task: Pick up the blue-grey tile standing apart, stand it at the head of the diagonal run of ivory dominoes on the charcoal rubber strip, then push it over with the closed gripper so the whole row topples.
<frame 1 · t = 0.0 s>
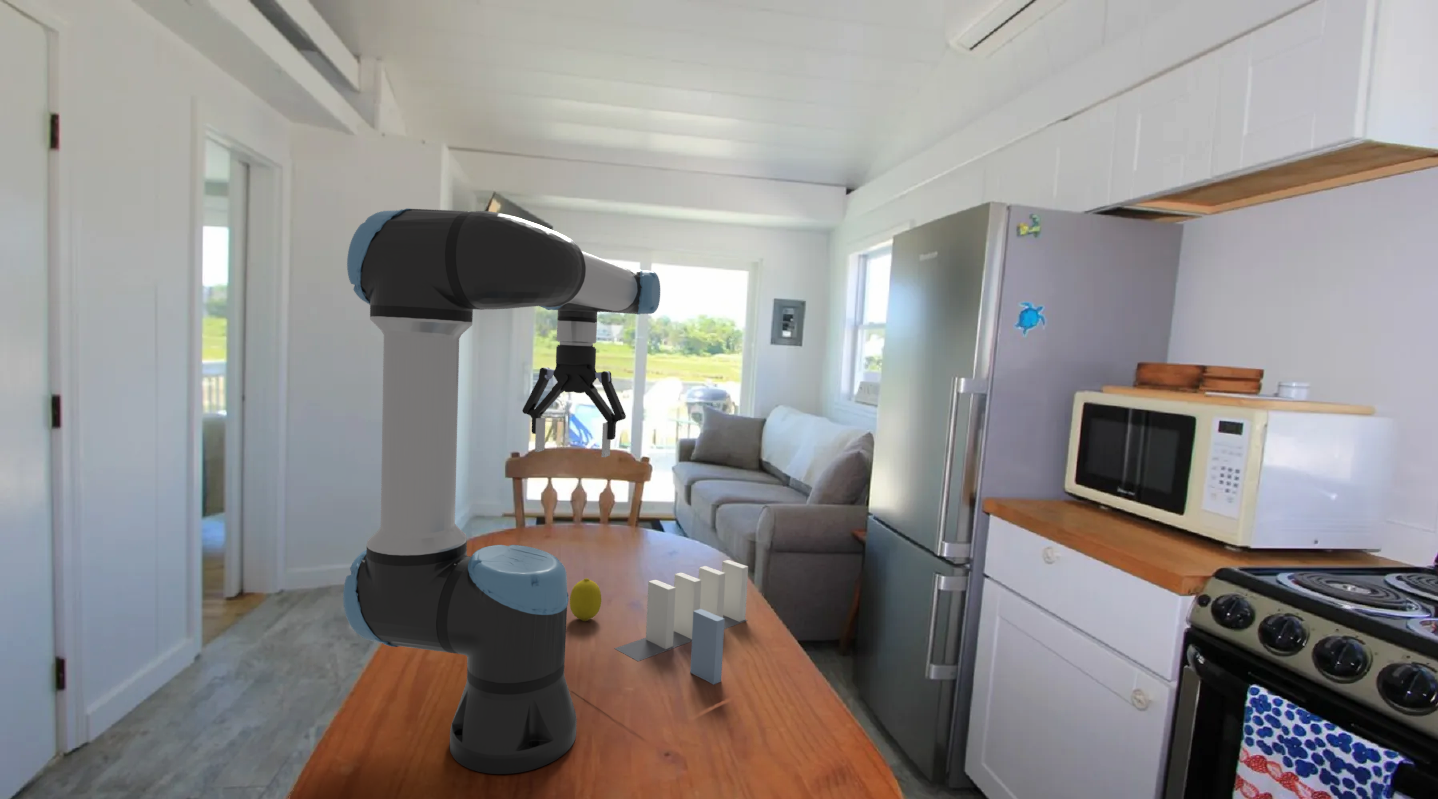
hand: (572, 453, 135), 28 cm above the table, fingers open, 13 cm apart
blue-grey tile: (705, 679, 105), on the table
tile 3: (685, 633, 120), resting on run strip
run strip: (685, 635, 120), on the table
tile 5: (732, 616, 129), resting on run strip
lemon: (584, 623, 124), on the table
tile 4: (709, 624, 125), resting on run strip
tile 2: (659, 642, 116), resting on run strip
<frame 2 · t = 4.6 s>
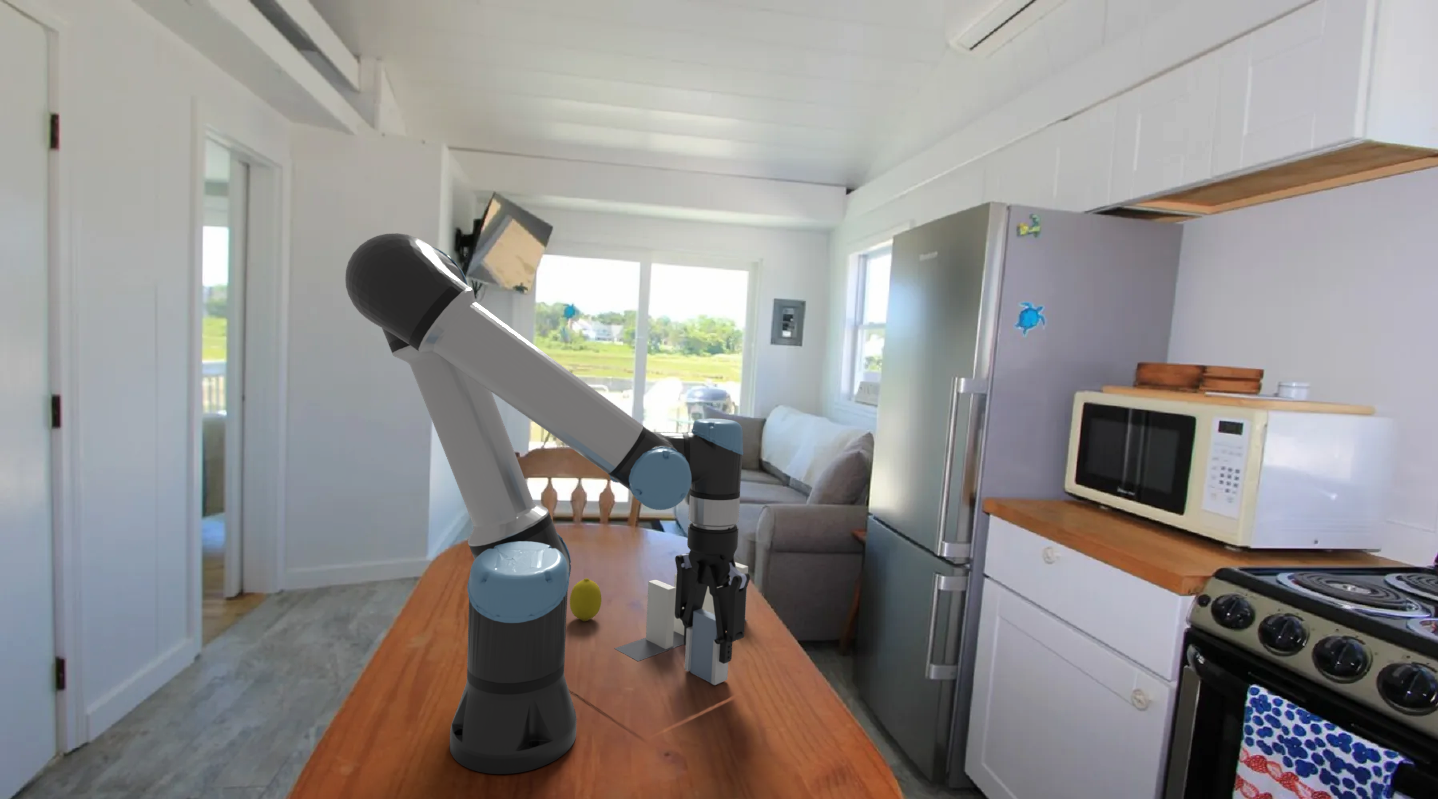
hand: (705, 674, 105), 1 cm above the table, fingers closed on blue-grey tile, 5 cm apart
blue-grey tile: (705, 679, 105), on the table, touching gripper
everything else where it was.
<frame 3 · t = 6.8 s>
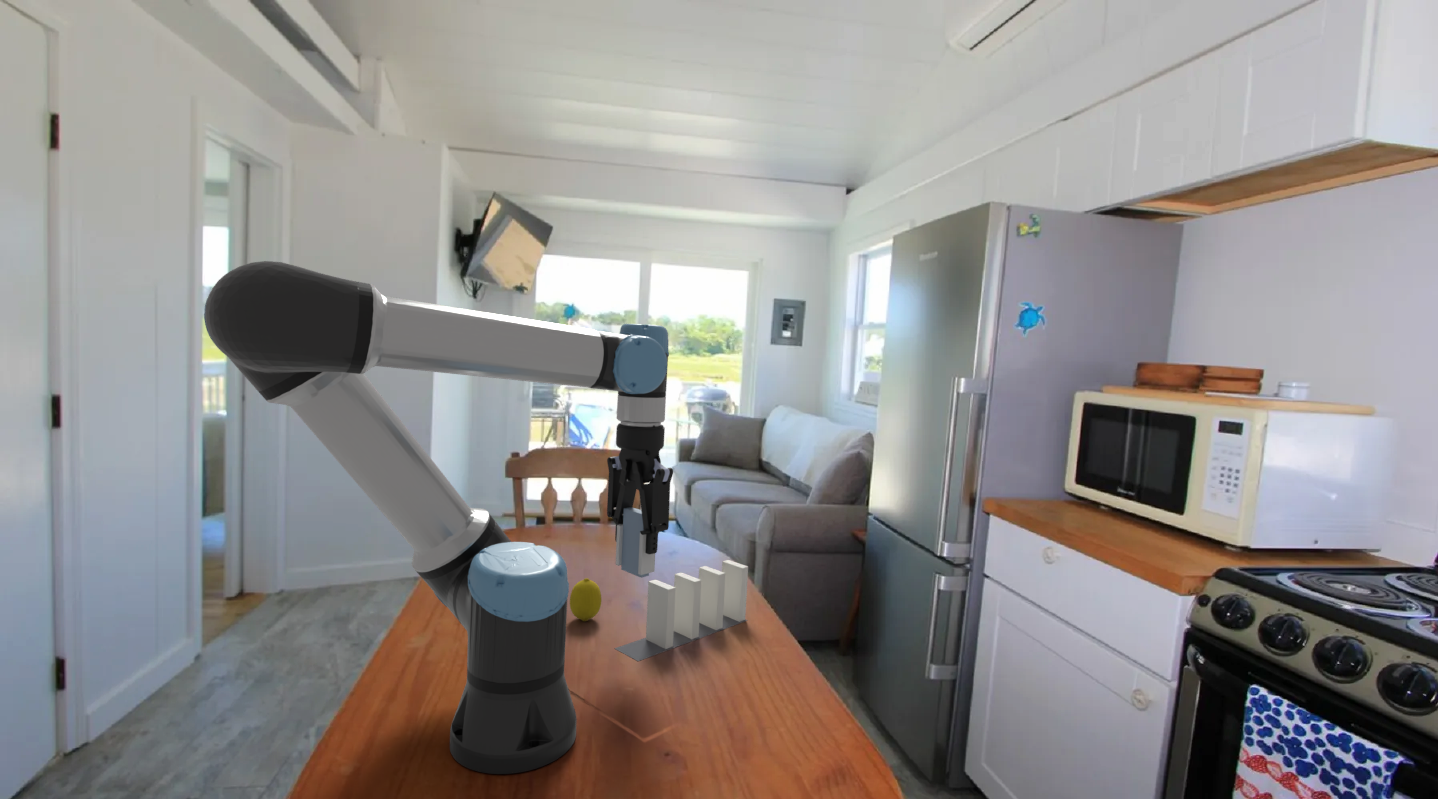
hand: (634, 567, 111), 14 cm above the table, fingers closed on blue-grey tile, 5 cm apart
blue-grey tile: (634, 572, 111), point 14 cm above the table, touching gripper
everything else where it was.
when the fingers open (2 cm above the table, at t = 9.3 s): blue-grey tile stays where it is, resting on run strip.
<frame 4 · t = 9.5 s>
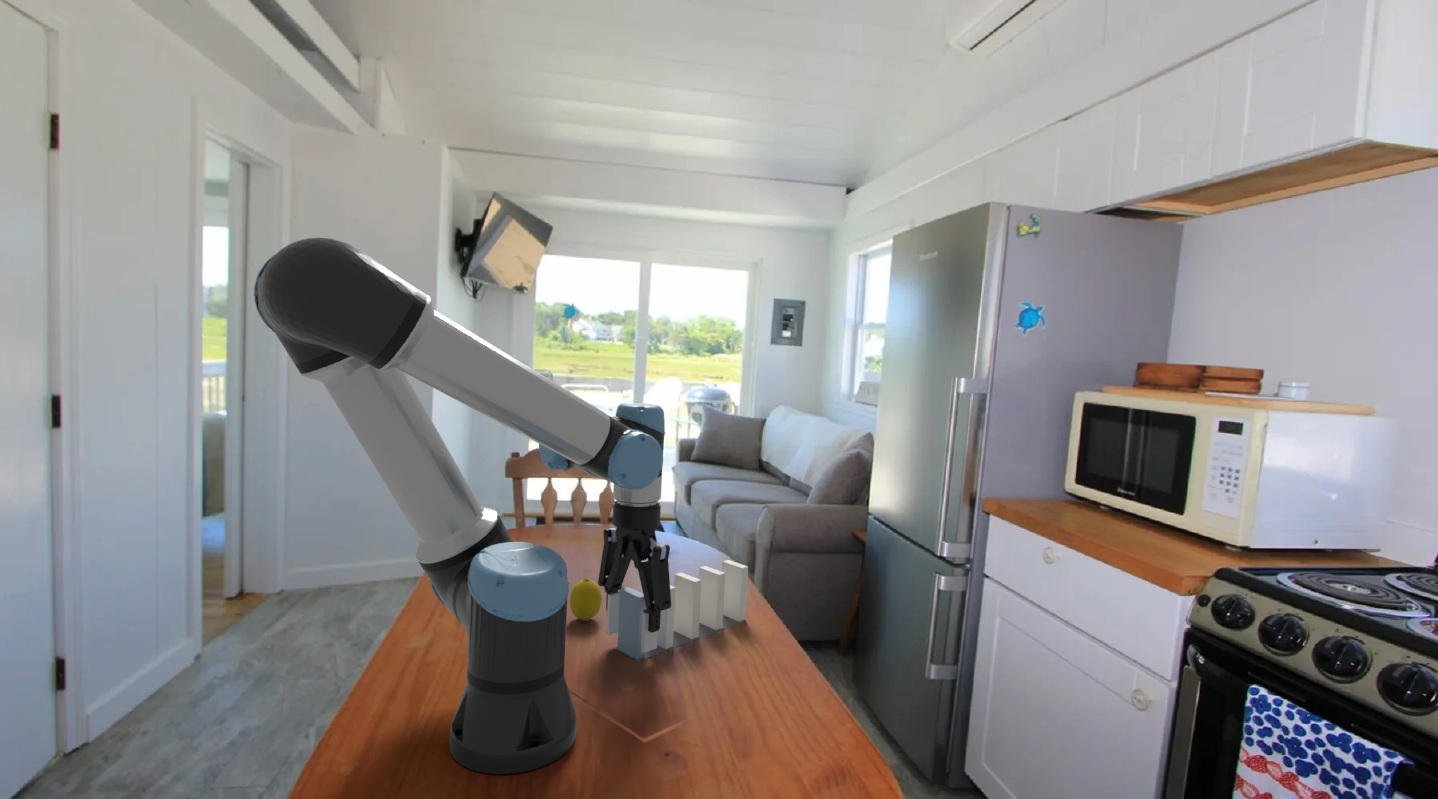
hand: (631, 640, 111), 2 cm above the table, fingers open, 8 cm apart
blue-grey tile: (630, 652, 112), resting on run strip
everything else where it was.
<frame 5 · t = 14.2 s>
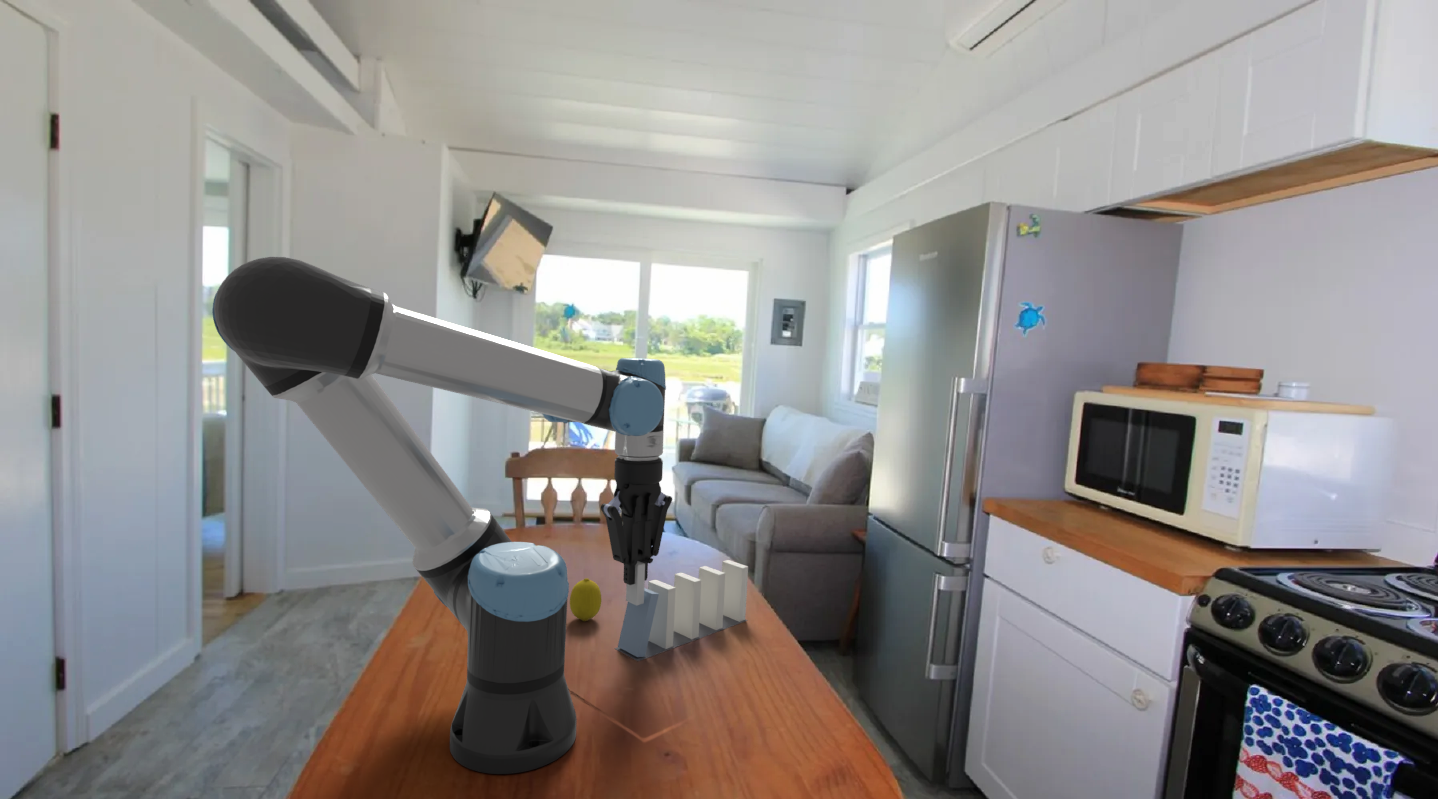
hand: (634, 601, 111), 9 cm above the table, fingers closed
blue-grey tile: (631, 651, 112), point 1 cm above the table, tilted 14°, touching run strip
everything else where it was.
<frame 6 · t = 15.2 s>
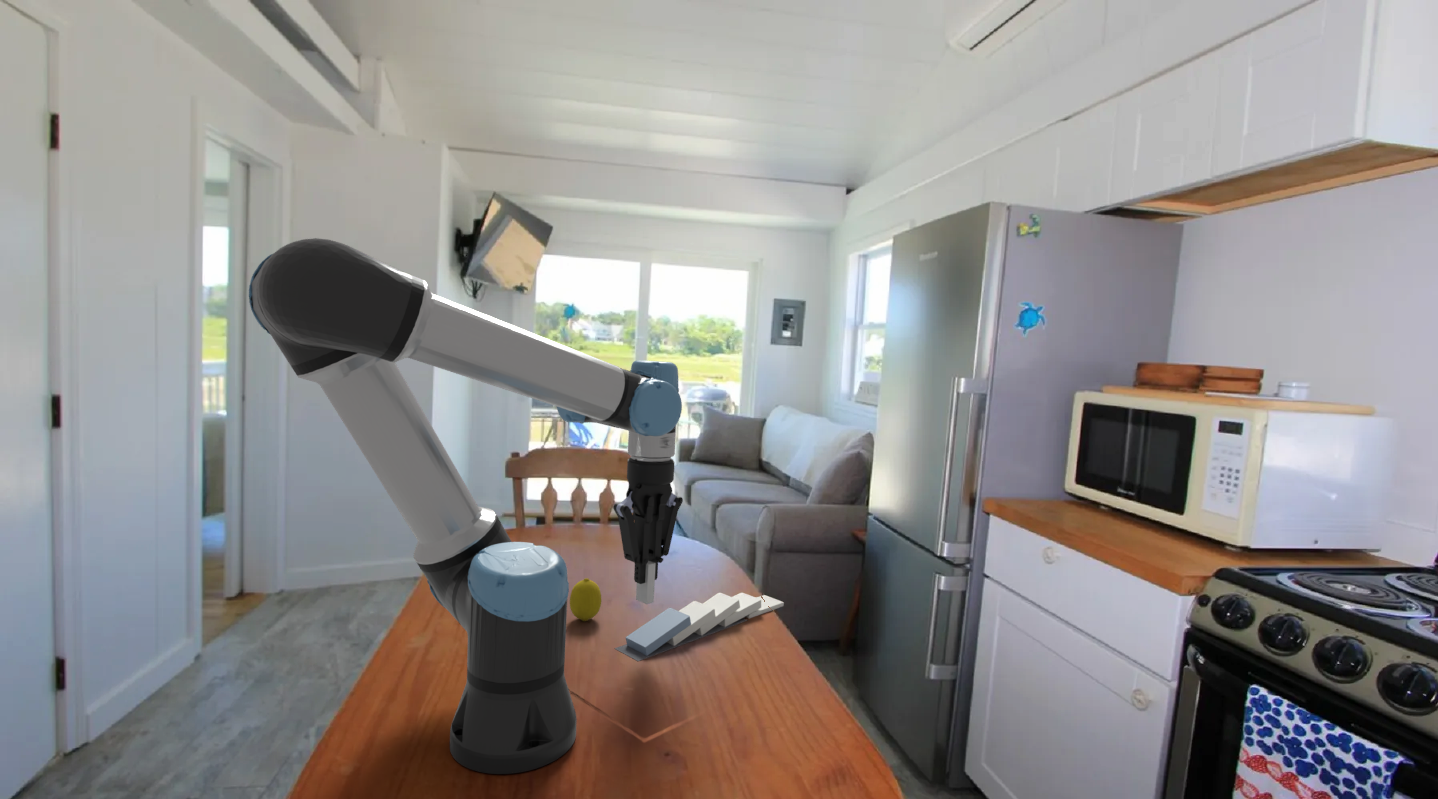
hand: (644, 600, 113), 8 cm above the table, fingers closed
blue-grey tile: (636, 646, 112), point 1 cm above the table, tilted 74°, touching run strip, tile 2
tile 3: (690, 627, 121), point 1 cm above the table, tilted 74°, touching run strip, tile 4
tile 5: (739, 614, 130), on the table, tilted 90°
tile 4: (714, 618, 126), point 1 cm above the table, tilted 83°, touching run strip, tile 3
tile 2: (663, 636, 117), point 1 cm above the table, tilted 75°, touching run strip, blue-grey tile
everything else where it was.
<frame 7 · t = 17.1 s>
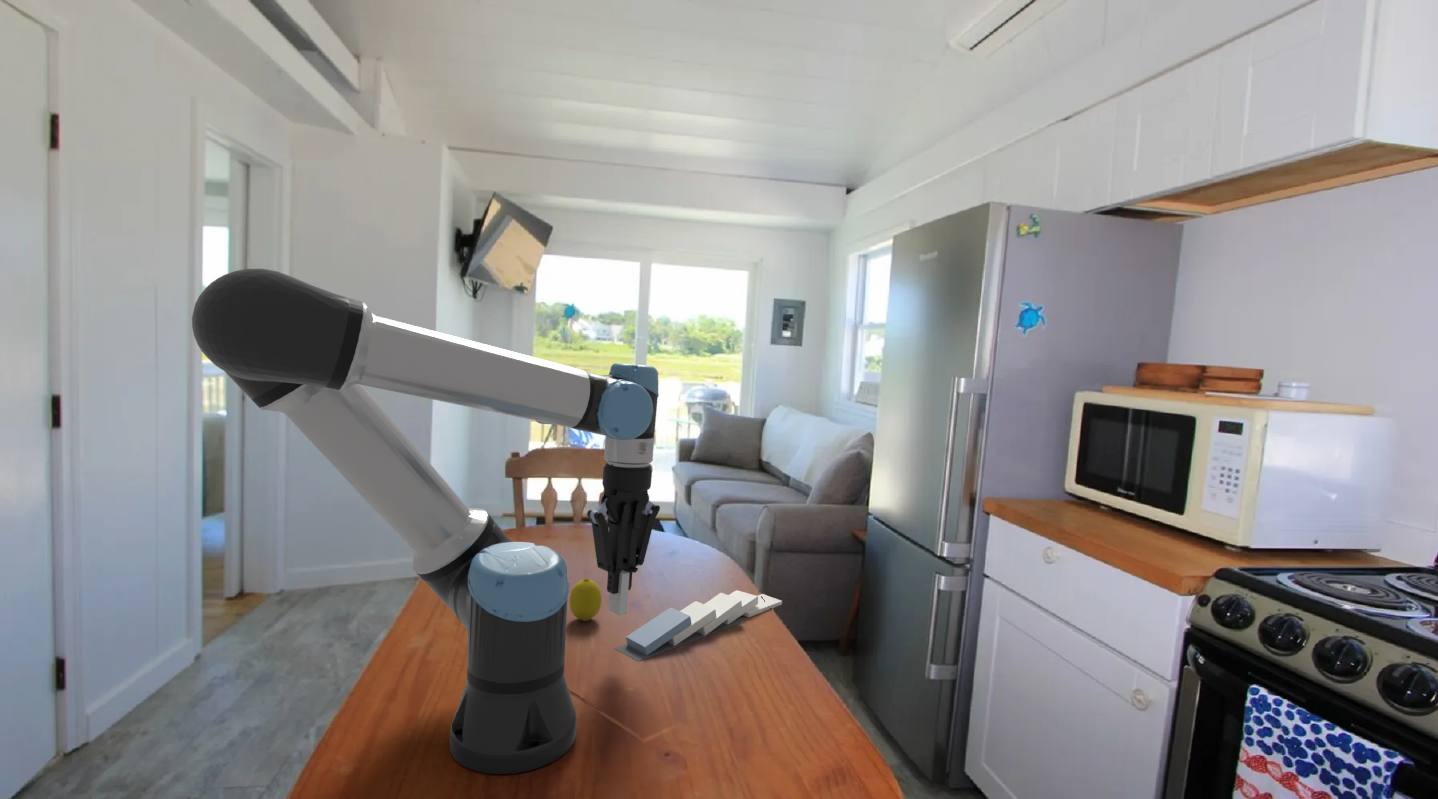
hand: (617, 611, 109), 8 cm above the table, fingers closed
blue-grey tile: (636, 646, 112), point 1 cm above the table, tilted 74°, touching tile 2
tile 3: (694, 627, 121), point 1 cm above the table, tilted 75°, touching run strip, tile 2, tile 4
tile 2: (664, 636, 117), point 1 cm above the table, tilted 76°, touching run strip, blue-grey tile, tile 3
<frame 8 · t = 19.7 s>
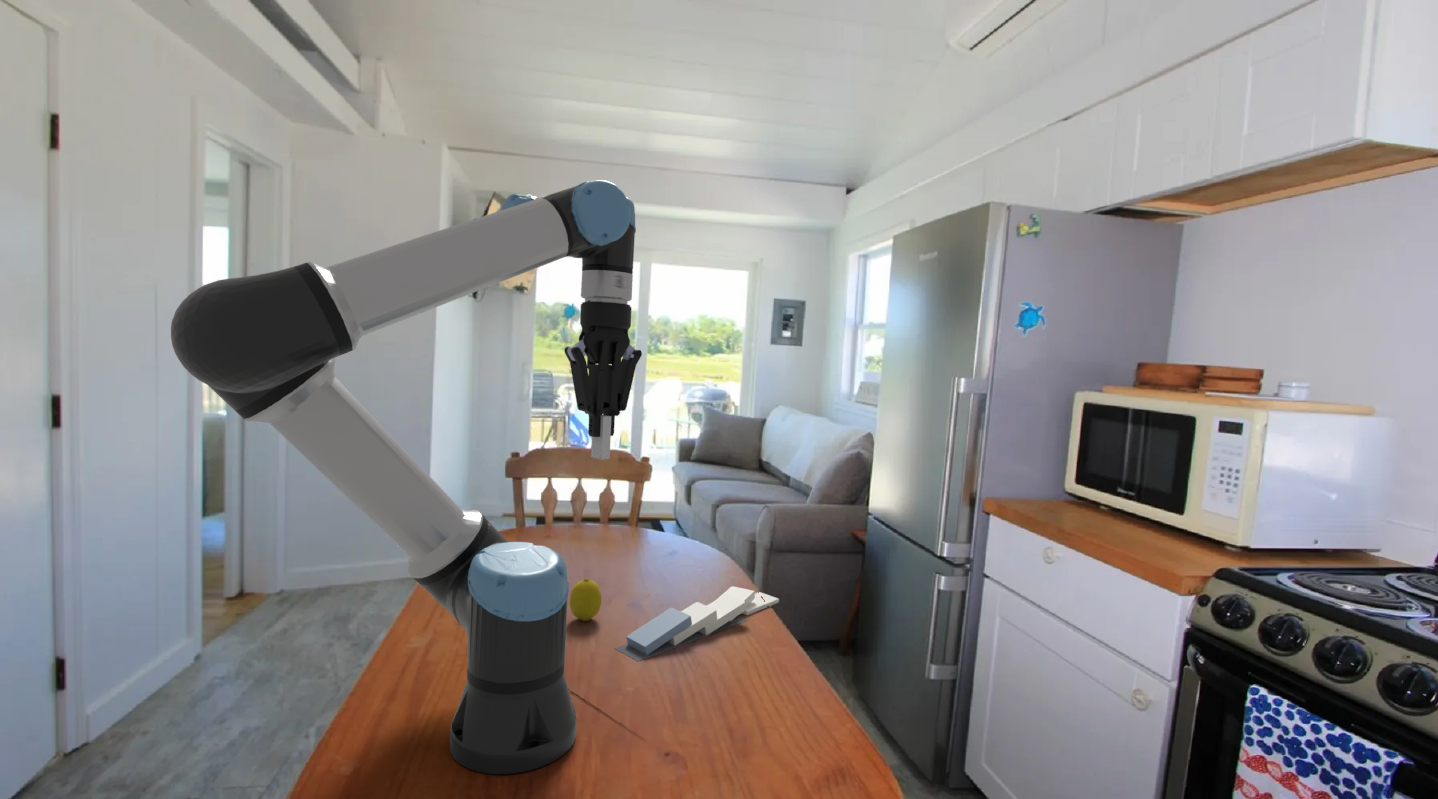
hand: (600, 457, 106), 32 cm above the table, fingers closed
tile 3: (696, 626, 121), point 1 cm above the table, tilted 76°, touching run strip, tile 4
tile 4: (718, 614, 127), point 1 cm above the table, tilted 83°, touching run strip, tile 3
tile 2: (664, 636, 117), point 1 cm above the table, tilted 76°, touching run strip, blue-grey tile
at the end: tile 5 tilted 90°; blue-grey tile tilted 74°; blue-grey tile inside the target area (1.3 cm from its centre), point 1.2 cm above the table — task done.
